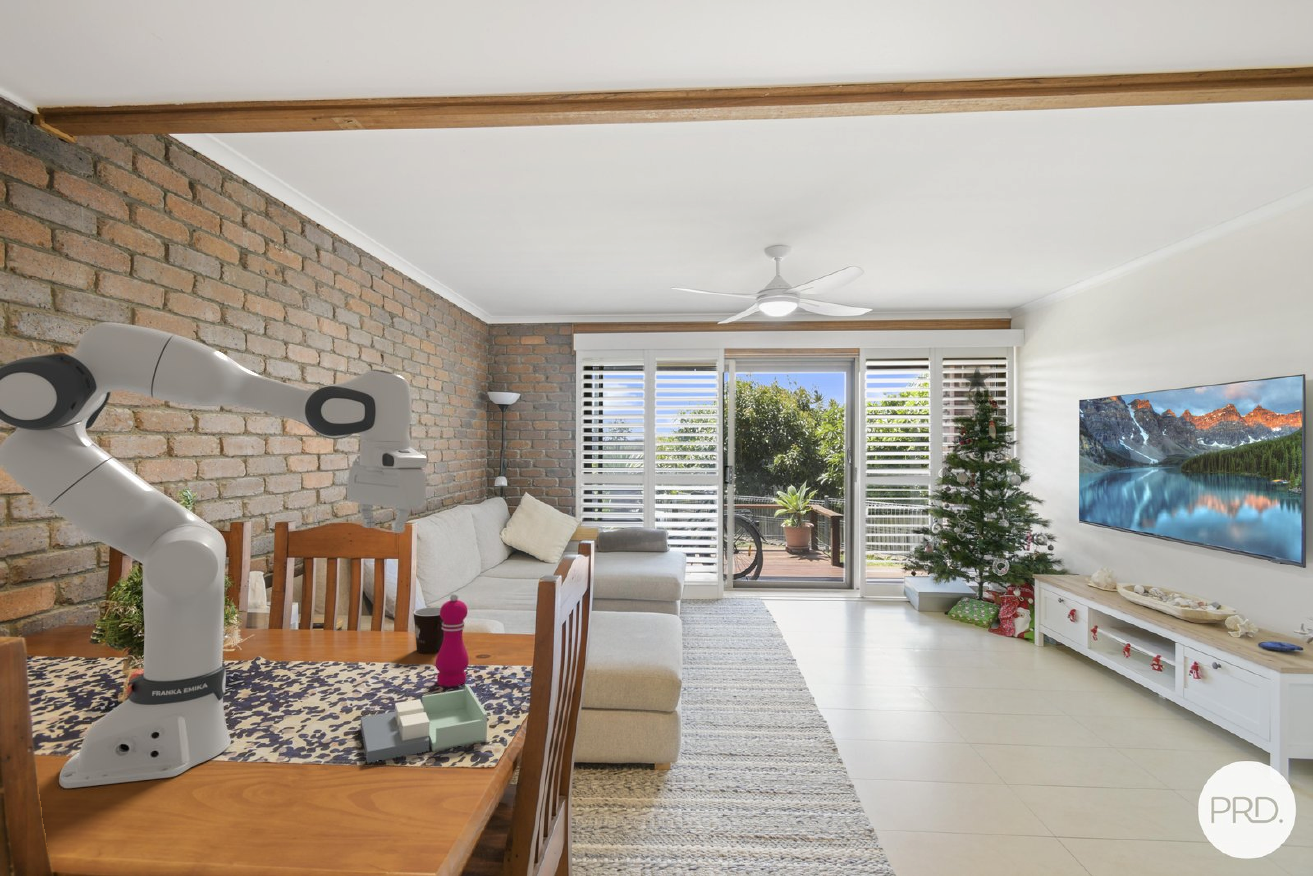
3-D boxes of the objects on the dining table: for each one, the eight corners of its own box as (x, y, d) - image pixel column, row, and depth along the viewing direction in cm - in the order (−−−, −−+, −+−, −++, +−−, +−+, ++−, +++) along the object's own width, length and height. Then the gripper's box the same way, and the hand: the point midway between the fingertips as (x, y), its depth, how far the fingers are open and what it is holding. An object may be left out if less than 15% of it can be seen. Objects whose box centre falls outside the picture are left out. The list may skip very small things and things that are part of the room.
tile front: (402, 740, 113) (402, 726, 113) (399, 730, 117) (399, 716, 117) (429, 735, 116) (429, 721, 116) (425, 725, 119) (425, 712, 119)
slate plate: (367, 763, 109) (367, 751, 109) (360, 727, 122) (360, 717, 122) (429, 751, 114) (429, 740, 114) (416, 718, 127) (416, 708, 127)
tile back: (397, 725, 119) (398, 712, 119) (394, 716, 123) (395, 703, 123) (423, 721, 121) (423, 708, 121) (419, 712, 125) (420, 699, 125)
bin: (432, 752, 114) (433, 723, 114) (418, 716, 128) (419, 691, 128) (486, 741, 118) (487, 714, 118) (467, 708, 132) (467, 684, 132)
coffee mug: (413, 645, 170) (414, 608, 170) (447, 643, 173) (448, 606, 173) (410, 660, 159) (411, 620, 159) (446, 658, 162) (448, 618, 162)
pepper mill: (458, 689, 142) (460, 598, 142) (428, 686, 143) (431, 596, 144) (473, 677, 149) (476, 591, 149) (445, 674, 151) (448, 589, 151)
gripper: (339, 454, 125) (336, 526, 125) (402, 458, 114) (400, 537, 113) (369, 454, 130) (367, 523, 130) (433, 458, 119) (430, 533, 119)
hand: (383, 529), depth 122 cm, fingers open, 8 cm apart
